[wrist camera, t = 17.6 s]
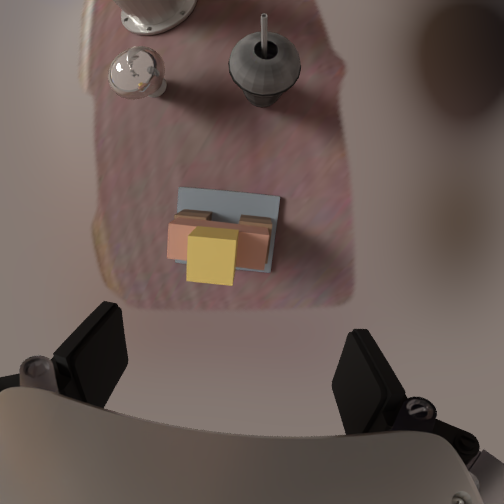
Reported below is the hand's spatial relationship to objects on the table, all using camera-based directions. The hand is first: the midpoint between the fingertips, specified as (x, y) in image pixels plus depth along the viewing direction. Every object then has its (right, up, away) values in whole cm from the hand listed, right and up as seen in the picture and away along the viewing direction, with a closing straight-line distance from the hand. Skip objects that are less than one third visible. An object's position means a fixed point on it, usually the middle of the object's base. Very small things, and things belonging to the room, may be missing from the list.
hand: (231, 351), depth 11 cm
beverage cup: (+2, +26, +24) cm, 35 cm away
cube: (-3, +4, +20) cm, 21 cm away
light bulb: (-13, +27, +24) cm, 38 cm away
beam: (-3, +6, +24) cm, 25 cm away
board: (-3, +7, +30) cm, 31 cm away
